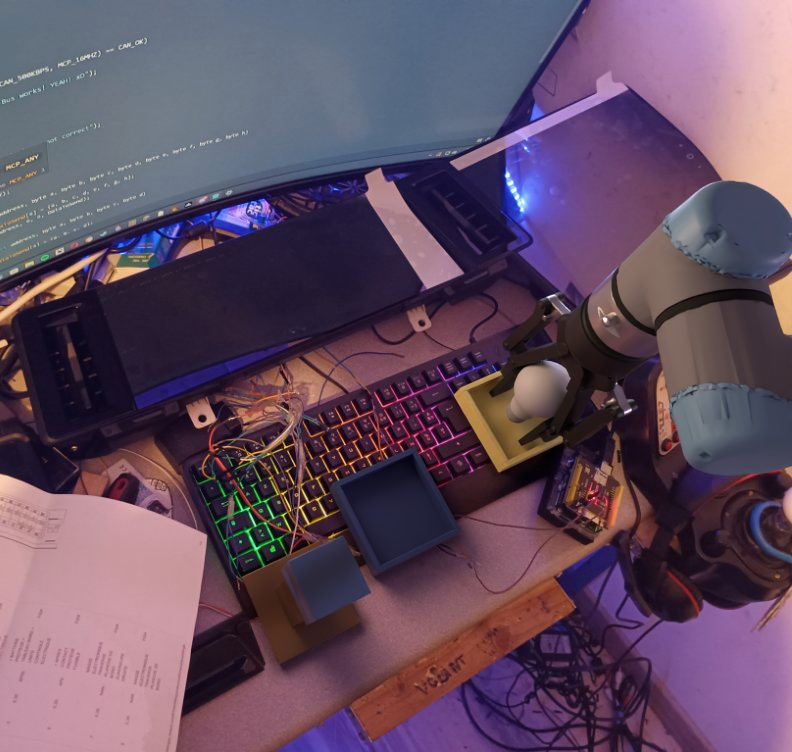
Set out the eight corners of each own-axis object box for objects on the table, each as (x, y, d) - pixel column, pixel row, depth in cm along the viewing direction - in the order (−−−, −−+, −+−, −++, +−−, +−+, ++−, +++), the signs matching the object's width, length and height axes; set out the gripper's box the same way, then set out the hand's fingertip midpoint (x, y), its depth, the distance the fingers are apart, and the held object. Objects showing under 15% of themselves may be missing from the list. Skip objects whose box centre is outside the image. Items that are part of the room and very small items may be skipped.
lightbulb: (486, 434, 82) (527, 398, 72) (489, 386, 84) (530, 345, 74) (537, 445, 82) (585, 411, 72) (539, 397, 85) (586, 358, 75)
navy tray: (453, 536, 77) (462, 532, 75) (372, 577, 74) (378, 573, 72) (408, 453, 80) (414, 446, 78) (328, 489, 78) (332, 483, 75)
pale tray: (568, 439, 84) (579, 432, 81) (497, 473, 81) (507, 467, 78) (522, 365, 87) (531, 356, 85) (452, 396, 84) (460, 387, 82)
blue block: (358, 599, 62) (371, 592, 57) (306, 625, 60) (316, 620, 56) (332, 546, 63) (343, 535, 59) (281, 570, 62) (288, 560, 57)
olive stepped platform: (358, 623, 72) (389, 611, 61) (278, 664, 70) (295, 660, 59) (319, 541, 75) (341, 516, 64) (241, 578, 73) (250, 558, 62)
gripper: (532, 248, 64) (447, 357, 85) (656, 432, 58) (531, 500, 79) (597, 223, 66) (498, 336, 87) (723, 399, 60) (584, 474, 81)
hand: (514, 414), depth 83 cm, fingers closed on lightbulb, 6 cm apart
